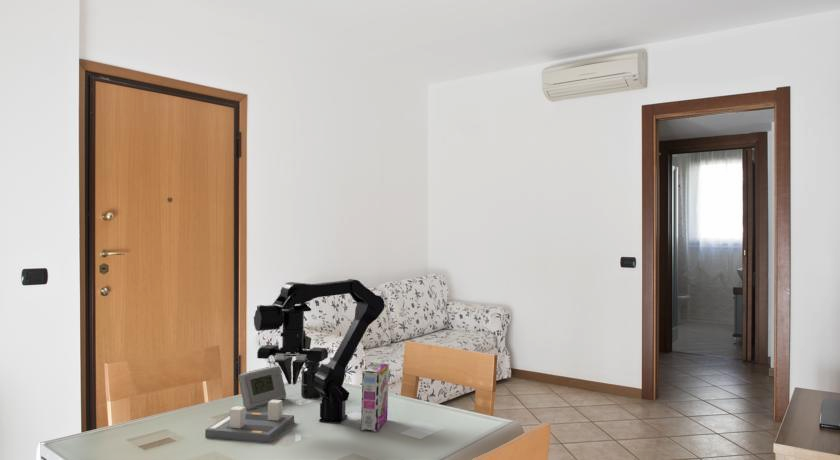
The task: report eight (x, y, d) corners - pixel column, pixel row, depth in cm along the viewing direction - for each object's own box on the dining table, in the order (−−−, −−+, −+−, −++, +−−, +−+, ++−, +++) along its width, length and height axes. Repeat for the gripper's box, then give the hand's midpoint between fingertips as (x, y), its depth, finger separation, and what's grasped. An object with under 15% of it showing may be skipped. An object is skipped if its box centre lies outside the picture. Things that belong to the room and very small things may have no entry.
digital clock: (244, 412, 171) (245, 376, 171) (231, 405, 177) (231, 371, 177) (292, 401, 182) (292, 368, 182) (278, 395, 188) (278, 363, 188)
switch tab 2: (282, 417, 159) (282, 400, 159) (277, 420, 157) (278, 403, 157) (272, 416, 160) (272, 399, 160) (267, 419, 157) (268, 402, 157)
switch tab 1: (245, 424, 153) (245, 406, 153) (240, 428, 150) (240, 410, 150) (235, 423, 153) (235, 406, 153) (229, 427, 151) (229, 409, 151)
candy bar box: (378, 432, 154) (378, 372, 154) (360, 431, 155) (361, 371, 155) (388, 419, 165) (389, 363, 165) (372, 418, 166) (372, 362, 166)
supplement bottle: (297, 398, 185) (298, 361, 185) (305, 392, 192) (306, 357, 192) (318, 399, 184) (318, 362, 184) (324, 393, 191) (325, 358, 191)
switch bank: (294, 422, 161) (294, 415, 161) (269, 442, 146) (269, 434, 146) (235, 417, 165) (236, 410, 165) (205, 437, 149) (205, 429, 149)
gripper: (334, 324, 164) (333, 378, 164) (274, 322, 167) (273, 375, 167) (321, 331, 153) (320, 389, 153) (256, 328, 156) (255, 384, 156)
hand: (292, 384), depth 157 cm, fingers closed
